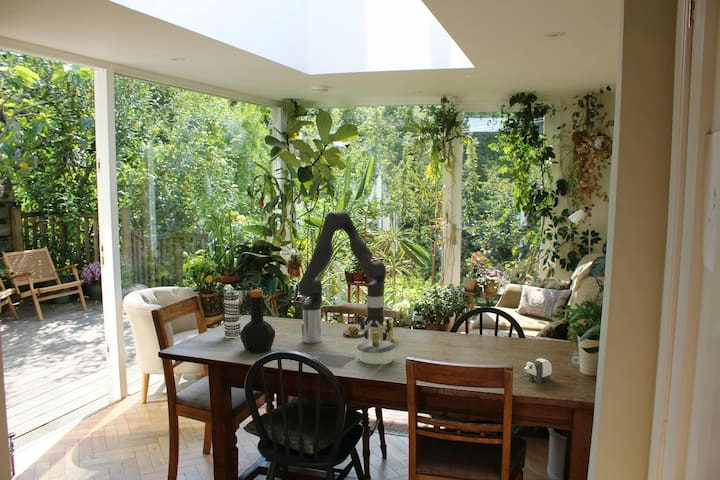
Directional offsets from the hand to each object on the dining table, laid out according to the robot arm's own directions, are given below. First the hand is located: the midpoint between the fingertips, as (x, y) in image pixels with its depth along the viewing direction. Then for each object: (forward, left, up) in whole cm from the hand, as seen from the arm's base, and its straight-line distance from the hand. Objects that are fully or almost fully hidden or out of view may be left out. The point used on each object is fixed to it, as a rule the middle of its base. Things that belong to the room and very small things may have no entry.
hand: (375, 339), depth 263 cm
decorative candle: (-87, +12, -10) cm, 88 cm away
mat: (-18, -9, -10) cm, 22 cm away
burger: (-26, +36, -10) cm, 46 cm away
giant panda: (+72, -4, -10) cm, 73 cm away
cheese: (-8, +30, -10) cm, 33 cm away
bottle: (-61, -4, -10) cm, 62 cm away
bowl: (0, 0, -10) cm, 10 cm away
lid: (0, 0, -4) cm, 4 cm away
